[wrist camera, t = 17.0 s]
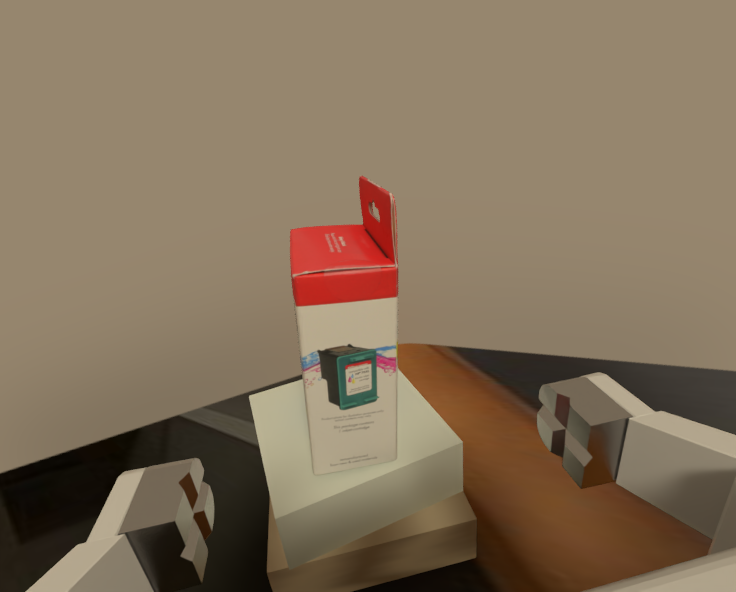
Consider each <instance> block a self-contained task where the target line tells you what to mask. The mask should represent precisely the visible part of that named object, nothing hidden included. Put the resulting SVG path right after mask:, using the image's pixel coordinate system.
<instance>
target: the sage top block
mask: <svg viewBox="0 0 736 592" xmlns="http://www.w3.org/2000/svg"><path fill="white" fill-rule="evenodd" d="M249 399H250V403H251V408H252V413H253V418H254V422H255V427H256V432H257V436H258V441H259V446H260V451H261V455H262V460H263V465H264V470H265V474H266V479H267V484H268V488H269V493H270V498H271V503H272V507H273V512H274V517H275V521H276V525H277V528H278V532H279V535H280V539H281V542H282V546H283V549H284V553H285V556H286V560H287V564H288V567H289V570H291V569H293V568H295V567H298V566H300V565H302V564H304V563H306V562H308V561H311V560H313V559H315V558H317V557H319V556H322V555H324V554H326V553H328V552H330V551H333V550H335V549H337V548H339V547H341V546H344V545H346V544H348V543H350V542H352V541H355V540H357V539H359V538H361V537H363V536H365V535H368V534H370V533H372V532H374V531H376V530H379V529H381V528H383V527H385V526H387V525H390V524H392V523H394V522H396V521H398V520H400V519H403V518H405V517H407V516H409V515H411V514H414V513H416V512H418V511H420V510H422V509H425V508H427V507H429V506H431V505H433V504H435V503H438V502H440V501H442V500H444V499H446V498H449V497H451V496H453V495H455V494H457V493H459V492H462V491H463V442H462V440H461V439H460V438H459V437H458V436H457V435H456V434H455V433H454V431H453V430H452V429H451V428H450V427H449V426H448V425H447V424H446V422H445V421H444V420H443V419H442V418H441V417H440V416H439V414H438V413H437V412H436V411H435V410H434V409H433V408H432V407H431V405H430V404H429V403H428V402H427V401H426V400H425V399H424V398H423V396H422V395H421V394H420V393H419V392H418V391H417V390H416V388H415V387H414V386H413V385H412V384H411V383H410V382H409V381H408V379H407V378H406V377H405V376H404V375H403V374H402V373H401V371H400V370H399V369H398V380H397V459H396V460H394V461H389V462H384V463H379V464H374V465H369V466H363V467H358V468H353V469H348V470H343V471H338V472H332V473H327V474H322V475H314V473H313V467H312V457H311V448H310V439H309V430H308V421H307V412H306V404H305V395H304V386H303V379H302V380H299V381H296V382H293V383H289V384H286V385H283V386H280V387H276V388H273V389H270V390H267V391H264V392H260V393H257V394H254V395H251V396H249Z"/></svg>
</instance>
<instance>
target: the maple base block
mask: <svg viewBox="0 0 736 592" xmlns="http://www.w3.org/2000/svg"><path fill="white" fill-rule="evenodd" d="M476 547H477V518H476V516H475V514H474V512H473V510H472V508H471V506H470V504H469V502H468V500H467V498H466V496H465V494H464V492H463V491H462V492H459V493H457V494H455V495H453V496H451V497H449V498H446V499H444V500H442V501H440V502H438V503H435V504H433V505H431V506H429V507H427V508H425V509H422V510H420V511H418V512H416V513H414V514H411V515H409V516H407V517H405V518H403V519H400V520H398V521H396V522H394V523H392V524H390V525H387V526H385V527H383V528H381V529H379V530H376V531H374V532H372V533H370V534H368V535H365V536H363V537H361V538H359V539H357V540H355V541H352V542H350V543H348V544H346V545H344V546H341V547H339V548H337V549H335V550H333V551H330V552H328V553H326V554H324V555H322V556H319V557H317V558H315V559H313V560H311V561H308V562H306V563H304V564H302V565H300V566H298V567H295V568H293V569H291V570H289V567H288V564H287V560H286V556H285V553H284V549H283V546H282V542H281V539H280V535H279V532H278V528H277V525H276V521H275V517H274V512H273V507H272V503H271V498H270V506H269V530H268V555H267V575H268V578H269V582H270V585H271V588H272V591H273V592H352V591H356V590H359V589H363V588H367V587H371V586H374V585H378V584H382V583H385V582H389V581H393V580H396V579H400V578H404V577H407V576H411V575H415V574H418V573H422V572H426V571H429V570H433V569H437V568H440V567H444V566H448V565H451V564H455V563H459V562H463V561H466V560H470V559H474V558H476Z"/></svg>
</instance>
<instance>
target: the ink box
mask: <svg viewBox="0 0 736 592" xmlns="http://www.w3.org/2000/svg"><path fill="white" fill-rule="evenodd" d="M359 187H360V200H361V209H362V216H363V225H332V226H316V227H304V228H297V229H292V230H291V232H290V259H291V260H290V261H291V277H292V288H293V296H294V305H295V315H296V323H297V333H298V343H299V352H300V360H301V368H302V377H303V386H304V395H305V404H306V412H307V421H308V430H309V439H310V448H311V457H312V467H313V473H314V475H322V474H327V473H332V472H338V471H343V470H348V469H353V468H358V467H363V466H369V465H374V464H379V463H384V462H389V461H394V460H396V459H397V380H398V260H397V220H396V206H395V200H394V197H393V194H392V193H390V192H388V191H386V190H385V189H383V188H381V187H380V186H379V185H377V184H376V183H374V182H372V181H371V180H368V179H367V178H365V177H363V176H360V178H359ZM373 202H374V203H375V207H376V208H378V210H379V215H380V220H378V219H377V217H375V215H374V214H373V209H372V203H373Z"/></svg>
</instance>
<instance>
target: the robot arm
mask: <svg viewBox="0 0 736 592" xmlns="http://www.w3.org/2000/svg"><path fill="white" fill-rule="evenodd" d="M539 400H540V401H541V402H542V403H543V406H542V408H541V409H540V410H539V412H538V413H537V427H538V431H539V434H540V437H541V439H542V441H543V442H544V444H545V445H546V447H547V448H548V449H549V450H550V452H552V453H554V454H556V455H558V456H560V457H562V466H563V468H564V469H565V470H566V471H567V472H568V474H569V475H570V476H571V477H572V478H573V480H574V481H575V482H576V483H577V484H578V486H579V487H580V488H581V489H583V488H587V487H592V486H597V485H601V484H606V483H610V482H615V481H616V484H618V485H620V486H621V487H623V488H625V489H627V490H628V491H630V492H632V493H633V494H635V495H637V496H639V497H640V498H642V499H644V500H645V501H647V502H649V503H651V504H652V505H654V506H656V507H657V508H659V509H661V510H663V511H664V512H666V513H668V514H669V515H671V516H673V517H675V518H676V519H678V520H680V521H681V522H683V523H685V524H687V525H688V526H690V527H692V528H693V529H695V530H697V531H699V532H700V533H702V534H704V535H705V536H707V537H709V538H711V539H712V543H711V546H710V548H709V551H708V554H707V556H703V557H700V558H697V559H693V560H690V561H686V562H683V563H679V564H676V565H672V566H669V567H665V568H662V569H658V570H655V571H651V572H648V573H644V574H641V575H637V576H634V577H630V578H627V579H624V580H620V581H617V582H613V583H610V584H606V585H603V586H599V587H596V588H592V589H589V590H585V591H582V592H736V435H733V434H730V433H727V432H724V431H721V430H718V429H715V428H712V427H709V426H706V425H703V424H700V423H697V422H694V421H691V420H688V419H685V418H682V417H679V416H676V415H673V414H670V413H666V412H663V411H659V412H655V411H653V410H652V409H651V408H650V407H648V406H647V405H646V404H644V403H643V402H642V401H640V400H639V399H638V398H636V397H635V396H634V395H632V394H631V393H630V392H628V391H627V390H626V389H624V388H623V387H622V386H620V385H619V384H618V383H617V382H615V381H614V380H613V379H611V378H610V377H609V376H607V375H606V374H603V373H600V372H597V373H593V374H589V375H584V376H580V377H578V378H573V379H568V380H563V381H559V382H554V383H550V384H545V385H542V387H541V388H540V390H539ZM203 473H204V469H203V467H202V464H201V462H200V459H197V458H193V459H187V460H182V461H177V462H171V463H166V464H161V465H155V466H150V467H148V468H142V469H136V470H131V471H125V472H124V473H122V474H121V475H120V476H119V477H118V479H117V481H116V483H115V485H114V487H113V489H112V491H111V493H110V495H109V497H108V499H107V501H106V503H105V505H104V507H103V509H102V511H101V513H100V515H99V517H98V519H97V521H96V523H95V525H94V527H93V529H92V531H91V533H90V536H89V538H88V540H87V542H86V543H83V544H78V545H77V546H76V547H75V548H73V549H72V550H71V551H70V552H69V553H68V554H67V555H66V556H65V557H64V558H62V559H61V560H60V561H59V562H58V563H57V564H56V565H55V566H54V567H53V568H51V569H50V570H49V571H48V572H47V573H46V574H45V575H44V576H43V577H41V578H40V579H39V580H38V581H37V582H36V583H35V584H34V585H33V586H32V587H30V588H29V589H28V590H27V591H26V592H174V591H178V590H181V589H185V588H189V587H192V586H196V585H199V584H202V581H203V576H204V570H205V565H206V560H207V555H208V550H207V547H206V544H205V542H204V540H205V539H206V538H207V537H208V536H209V534H210V533H211V532H212V528H213V522H214V501H213V495H212V491H211V489H210V486H209V485H208V484H206V483H204V482H203V481H202V478H203Z"/></svg>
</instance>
